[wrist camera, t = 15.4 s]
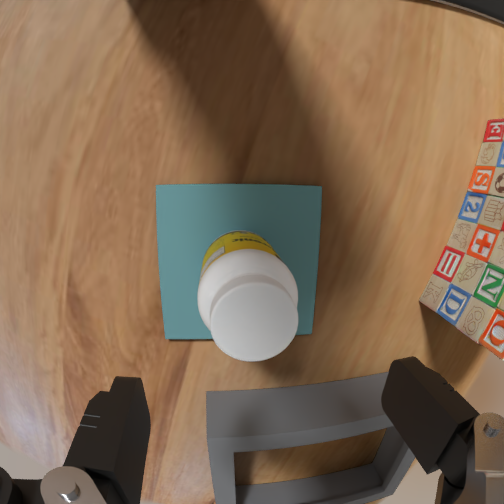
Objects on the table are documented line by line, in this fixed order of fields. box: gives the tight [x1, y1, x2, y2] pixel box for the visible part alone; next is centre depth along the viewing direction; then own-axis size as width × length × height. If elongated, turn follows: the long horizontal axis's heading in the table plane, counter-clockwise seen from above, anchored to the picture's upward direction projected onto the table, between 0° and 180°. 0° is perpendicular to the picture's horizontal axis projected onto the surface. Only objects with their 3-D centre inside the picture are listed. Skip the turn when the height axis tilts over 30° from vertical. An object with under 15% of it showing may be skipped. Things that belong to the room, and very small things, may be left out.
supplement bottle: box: [197, 230, 298, 362], centre depth 18 cm, size 5×5×10 cm
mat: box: [156, 184, 322, 339], centre depth 23 cm, size 12×12×1 cm
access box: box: [206, 372, 415, 504], centre depth 26 cm, size 22×18×6 cm
